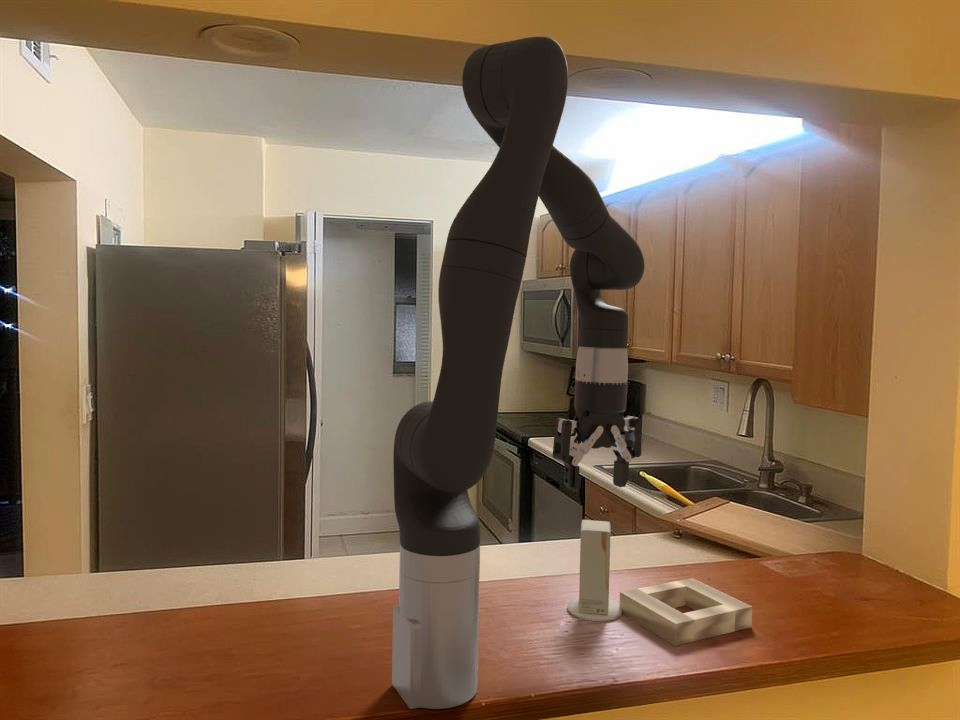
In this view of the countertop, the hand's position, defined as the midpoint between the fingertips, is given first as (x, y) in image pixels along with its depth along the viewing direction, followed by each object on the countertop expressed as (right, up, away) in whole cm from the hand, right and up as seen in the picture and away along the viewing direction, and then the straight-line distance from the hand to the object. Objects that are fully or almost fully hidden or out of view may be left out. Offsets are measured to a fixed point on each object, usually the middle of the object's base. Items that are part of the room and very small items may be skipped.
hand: (596, 488), depth 105 cm
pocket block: (+12, -19, -2) cm, 23 cm away
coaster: (0, -18, +1) cm, 18 cm away
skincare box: (0, -18, +1) cm, 18 cm away
